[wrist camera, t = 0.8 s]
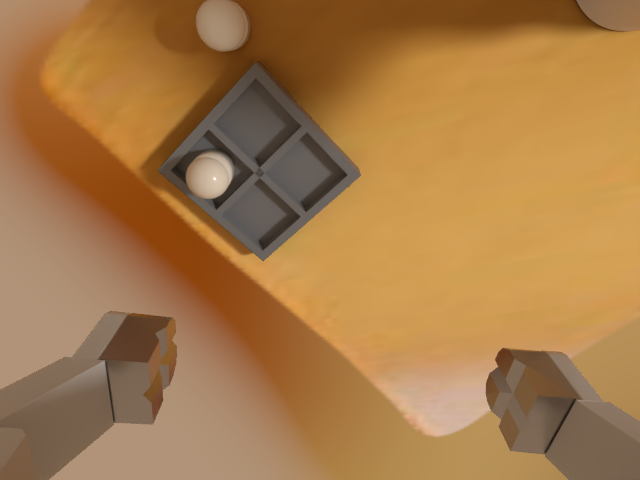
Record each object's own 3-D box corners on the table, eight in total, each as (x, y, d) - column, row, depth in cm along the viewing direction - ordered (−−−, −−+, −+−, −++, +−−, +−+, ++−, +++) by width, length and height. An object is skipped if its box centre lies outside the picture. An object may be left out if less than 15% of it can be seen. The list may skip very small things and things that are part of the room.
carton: (258, 61, 42) (255, 62, 40) (358, 168, 47) (360, 175, 45) (165, 163, 47) (157, 170, 44) (265, 251, 52) (263, 261, 49)
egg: (226, -12, 39) (212, -19, 34) (260, 26, 40) (251, 25, 35) (196, 24, 40) (179, 23, 35) (230, 60, 42) (218, 63, 37)
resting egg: (213, 139, 44) (199, 153, 39) (243, 168, 46) (234, 185, 41) (187, 166, 46) (171, 184, 41) (218, 193, 47) (205, 213, 42)
